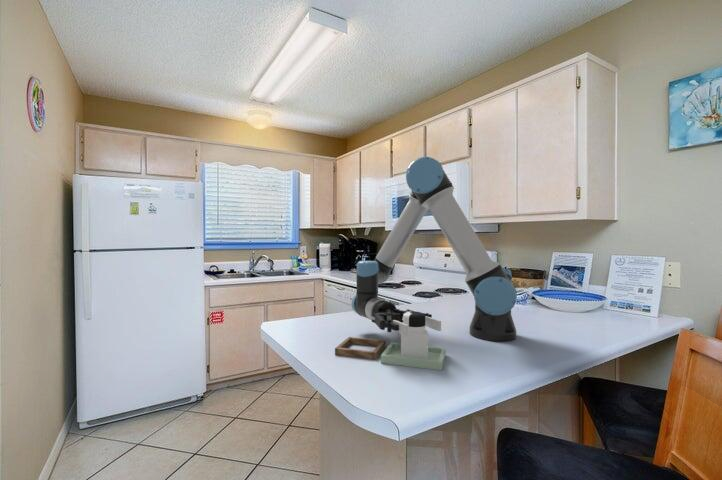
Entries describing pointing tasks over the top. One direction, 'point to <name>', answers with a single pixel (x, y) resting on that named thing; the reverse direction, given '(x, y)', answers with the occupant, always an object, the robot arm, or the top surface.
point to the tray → (433, 362)
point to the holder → (374, 354)
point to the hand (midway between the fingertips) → (424, 328)
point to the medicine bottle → (415, 336)
